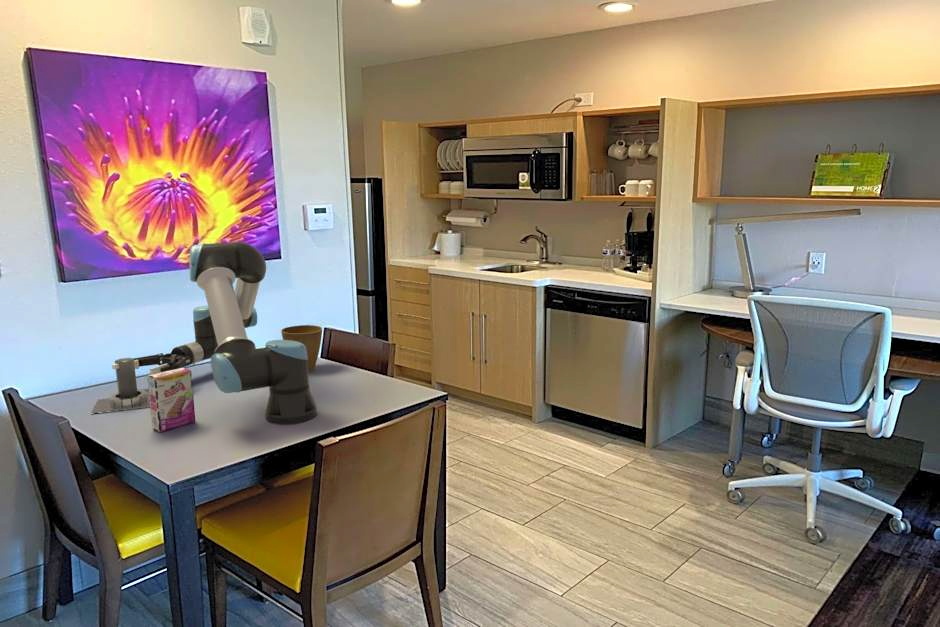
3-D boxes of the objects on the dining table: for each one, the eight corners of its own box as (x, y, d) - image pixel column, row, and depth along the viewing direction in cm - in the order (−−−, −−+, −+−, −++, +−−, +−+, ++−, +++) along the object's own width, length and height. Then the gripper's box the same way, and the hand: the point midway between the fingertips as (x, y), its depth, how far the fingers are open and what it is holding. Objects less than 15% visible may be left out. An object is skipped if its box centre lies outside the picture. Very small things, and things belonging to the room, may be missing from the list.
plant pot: (293, 378, 246) (290, 335, 243) (278, 369, 258) (275, 328, 255) (331, 371, 255) (328, 329, 252) (315, 362, 267) (312, 322, 264)
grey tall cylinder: (130, 398, 225) (125, 357, 222) (142, 400, 222) (137, 358, 220) (112, 404, 219) (107, 362, 216) (124, 406, 216) (119, 364, 214)
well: (161, 406, 218) (160, 396, 218) (91, 414, 211) (90, 405, 211) (164, 393, 231) (163, 384, 230) (98, 401, 224) (97, 392, 224)
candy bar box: (160, 433, 195) (154, 378, 192) (152, 429, 198) (145, 375, 195) (197, 422, 203) (191, 369, 200) (188, 418, 206) (183, 366, 203)
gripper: (214, 368, 238) (165, 385, 219) (162, 361, 248) (110, 377, 229) (212, 347, 236) (162, 363, 217) (159, 341, 246) (108, 356, 227)
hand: (136, 370), depth 223 cm, fingers open, 13 cm apart
